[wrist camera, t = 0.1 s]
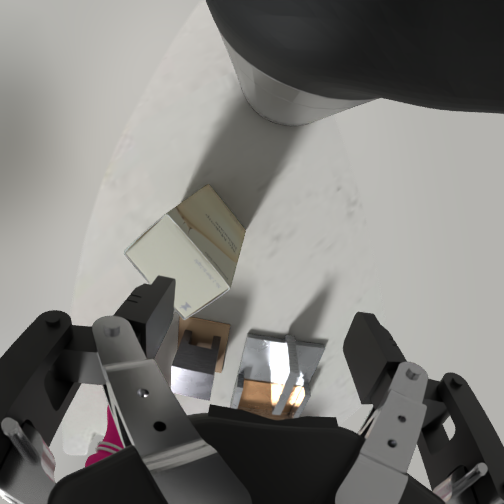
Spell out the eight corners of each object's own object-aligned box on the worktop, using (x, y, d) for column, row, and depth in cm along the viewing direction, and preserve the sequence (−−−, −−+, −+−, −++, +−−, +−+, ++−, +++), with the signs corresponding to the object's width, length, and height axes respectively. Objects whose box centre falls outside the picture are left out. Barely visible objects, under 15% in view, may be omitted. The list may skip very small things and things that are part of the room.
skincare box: (247, 230, 29) (237, 290, 17) (213, 255, 30) (185, 324, 19) (207, 180, 27) (168, 210, 16) (173, 208, 28) (120, 253, 17)
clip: (185, 329, 33) (171, 365, 27) (221, 336, 33) (213, 375, 27) (183, 355, 35) (171, 392, 29) (216, 362, 35) (209, 400, 29)
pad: (180, 314, 33) (179, 316, 32) (230, 324, 33) (230, 326, 33) (177, 361, 36) (176, 363, 35) (221, 370, 36) (221, 372, 36)
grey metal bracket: (249, 324, 33) (246, 366, 26) (327, 336, 33) (338, 376, 27) (230, 403, 38) (226, 440, 32) (292, 410, 39) (295, 447, 32)
